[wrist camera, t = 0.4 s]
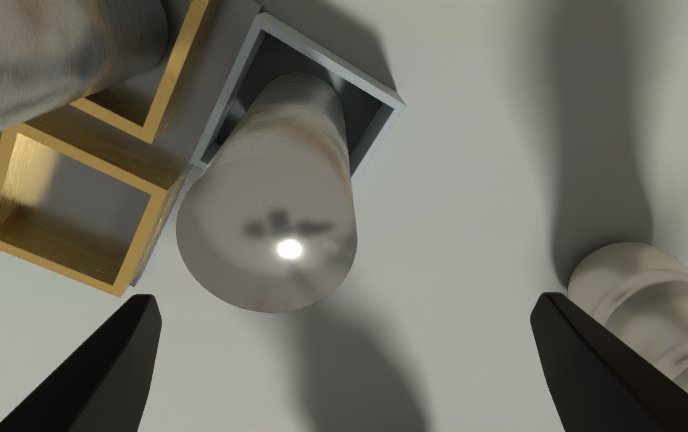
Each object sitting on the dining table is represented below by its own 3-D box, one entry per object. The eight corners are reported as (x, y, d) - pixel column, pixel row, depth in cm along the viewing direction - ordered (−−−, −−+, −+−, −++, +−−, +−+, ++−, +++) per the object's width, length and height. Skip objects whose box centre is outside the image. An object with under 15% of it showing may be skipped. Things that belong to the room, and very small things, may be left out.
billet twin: (147, 94, 21) (-68, 211, 10) (47, 42, 20) (-332, 104, 9) (183, 1, 20) (-30, 9, 8) (75, -63, 18) (-359, -161, 7)
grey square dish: (326, 206, 26) (325, 231, 23) (205, 144, 24) (189, 163, 21) (397, 92, 23) (406, 105, 20) (265, 11, 21) (256, 14, 18)
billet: (317, 176, 25) (304, 335, 13) (239, 135, 23) (150, 270, 12) (360, 102, 23) (391, 211, 11) (279, 54, 22) (219, 120, 10)
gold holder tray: (140, 277, 27) (120, 307, 25) (-30, 207, 25) (-73, 232, 22) (263, 5, 21) (254, 6, 18) (47, -129, 18) (-2, -150, 15)
